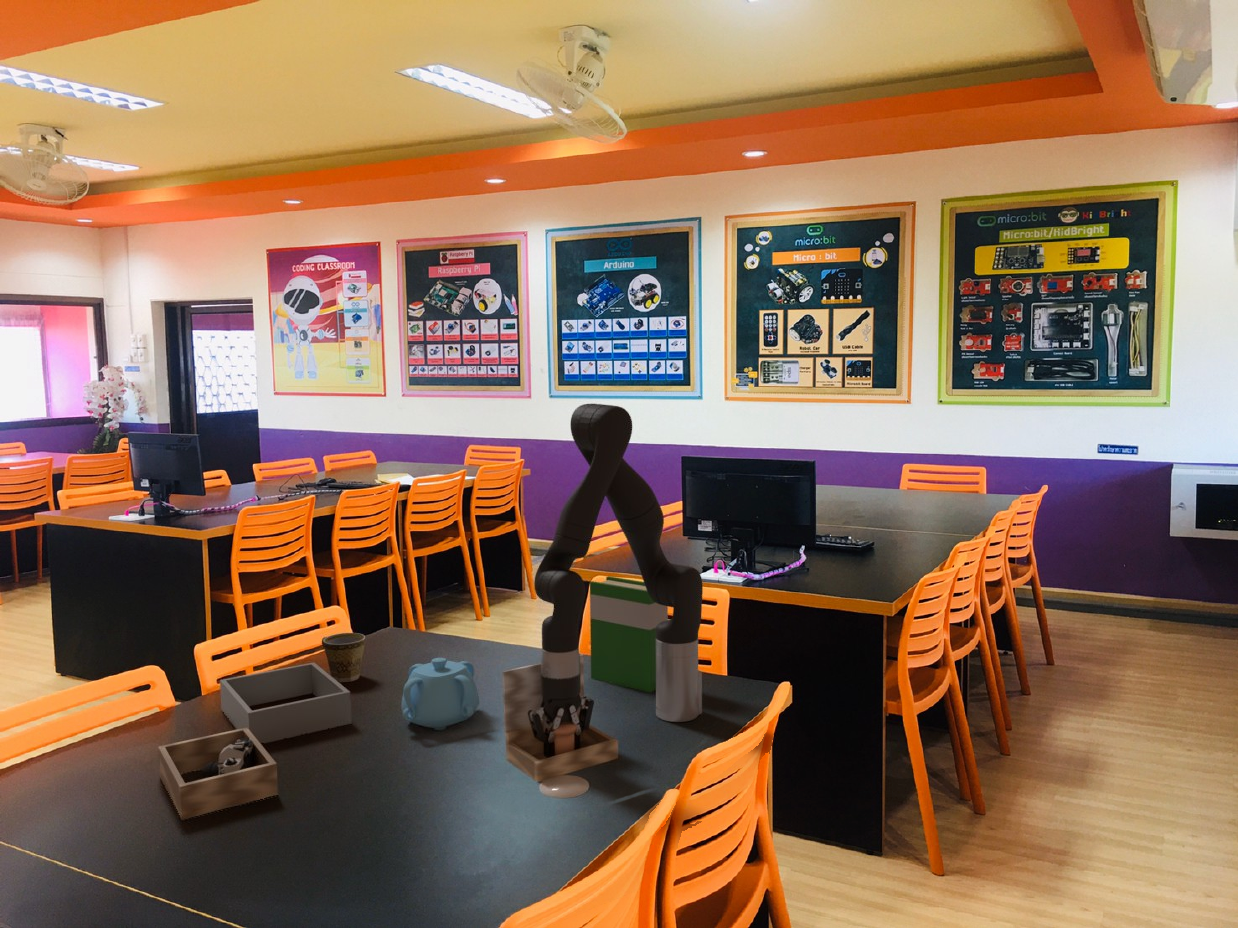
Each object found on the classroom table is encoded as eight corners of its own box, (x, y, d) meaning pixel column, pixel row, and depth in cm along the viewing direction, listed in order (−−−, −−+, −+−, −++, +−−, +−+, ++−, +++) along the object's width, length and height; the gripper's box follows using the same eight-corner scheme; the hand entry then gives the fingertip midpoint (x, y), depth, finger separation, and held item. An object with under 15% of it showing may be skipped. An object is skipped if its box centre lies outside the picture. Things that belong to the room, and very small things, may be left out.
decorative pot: (473, 734, 199) (471, 671, 197) (395, 735, 198) (393, 671, 197) (483, 706, 215) (481, 647, 213) (411, 707, 215) (409, 648, 213)
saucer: (572, 774, 179) (572, 771, 179) (598, 791, 172) (598, 788, 171) (530, 786, 174) (530, 783, 174) (555, 805, 166) (555, 801, 166)
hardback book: (591, 678, 233) (589, 581, 230) (609, 670, 239) (608, 576, 236) (650, 692, 222) (649, 591, 220) (667, 683, 228) (667, 585, 226)
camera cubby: (248, 756, 188) (247, 727, 188) (278, 795, 171) (276, 763, 170) (159, 777, 179) (158, 746, 179) (181, 820, 162) (179, 786, 161)
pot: (567, 750, 189) (566, 716, 188) (583, 760, 184) (582, 725, 183) (541, 757, 185) (541, 722, 185) (557, 767, 181) (556, 732, 180)
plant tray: (315, 691, 226) (314, 662, 225) (351, 723, 205) (350, 691, 204) (221, 710, 214) (219, 680, 213) (250, 746, 193) (248, 713, 192)
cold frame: (580, 738, 196) (579, 652, 194) (618, 760, 185) (617, 670, 183) (502, 759, 186) (500, 669, 184) (537, 784, 175) (535, 689, 173)
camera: (215, 774, 181) (210, 730, 179) (258, 770, 182) (254, 726, 180) (198, 811, 168) (193, 764, 166) (244, 806, 169) (240, 759, 168)
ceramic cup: (375, 675, 236) (373, 636, 235) (344, 687, 228) (342, 646, 227) (339, 667, 243) (337, 628, 242) (307, 678, 235) (305, 638, 234)
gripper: (581, 658, 190) (582, 741, 192) (518, 672, 182) (520, 758, 184) (602, 668, 184) (603, 753, 185) (538, 683, 176) (539, 772, 177)
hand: (562, 755), depth 184 cm, fingers closed on pot, 4 cm apart
